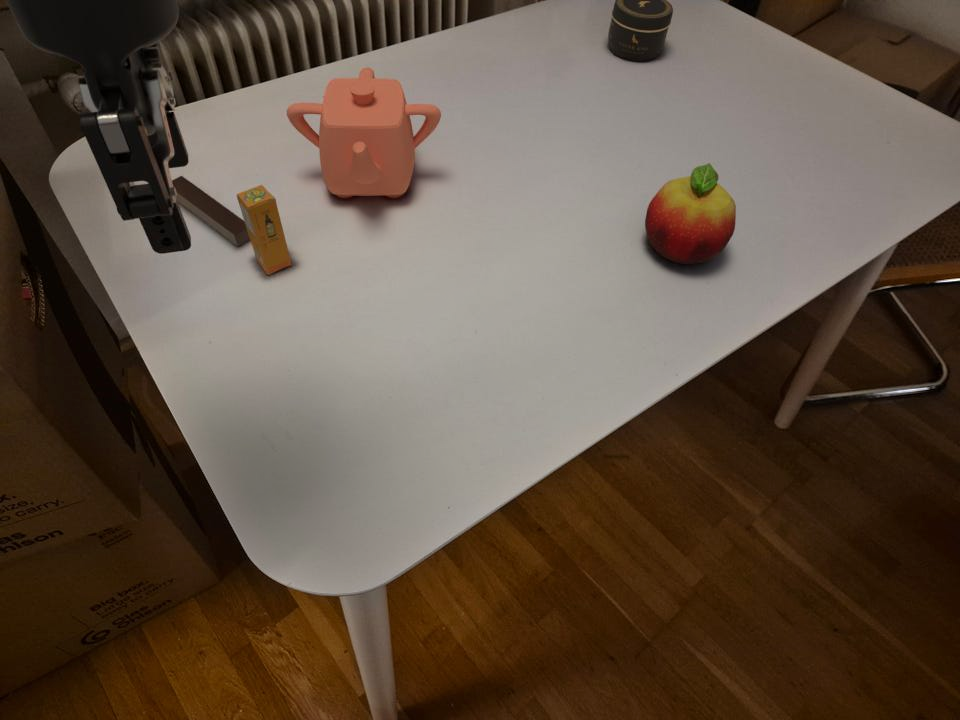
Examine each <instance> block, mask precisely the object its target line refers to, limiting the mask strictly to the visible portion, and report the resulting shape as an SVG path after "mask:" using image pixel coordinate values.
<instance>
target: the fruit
mask: <svg viewBox="0 0 960 720" xmlns="http://www.w3.org/2000/svg"><path fill="white" fill-rule="evenodd" d="M718 181H719V174H718V172H717V171H716V169H714V167H713V166H712V164H711V163H710V162H709V163H707V164H704V165H699V166H696V167H694V168H693V170H692V171H691V174H690V175H689V176H681V177H678V178H677V177H676V178H674V179H671V180H669V181H667V182H666V183H664V184H663V185H662V187H661V188H660V189H659V190H658V191H657V192H656V194H655V195H654V196H653V197H652V199H651V200H650V202H649V203H648V206H647V209H646V215H645V220H644V229H645V233H646V235H647V239H648V241H649V243H650V245H651V246H652V247H653V249H654V250H655V251H656V252H657V254H659V255H661V256H662V257H663V258H664V259H666V260H668V261H671V262H673V263H676V264H682V265H696V264H699V263H704V262H707V261H709V260H711V259H712V258H714V257H716V256H717V255H718V254H720V253H722V251H723V250H724V249H725V248H726V247H727V245H728V243H729V242H730V241H731V239H732V237H733V235H734V233H735V230H736V219H737V207H736V203H735V200H734V199H733V197H732V195H731V194H730V193H729V192H728V191H727V190H726V189H725V188H724V187H723V186H722V185H721V184H719V182H718Z"/></svg>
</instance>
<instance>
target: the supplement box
mask: <svg viewBox="0 0 960 720" xmlns="http://www.w3.org/2000/svg"><path fill="white" fill-rule="evenodd" d="M236 198H237V202H238V205H239V209H240V211H241V214H242V218H243V220H244V221H245V224H246V228H247V231H248V234H249V237H250V240H249V241H250V244H251V247H252V249H253V253H254V256H255V259H256V261H257V263H258V265H260V267H261V268H262V270H263V271H264V273H265V274H266V275H268V276H270V275H272V274H274V273H276V272H279V271H281V270H283V269H285V268H289V267H290V266H292V264H293V263H292V260H291V256H290V251H289V248H288V243H287V240H286V236H285V232H284V229H283V224H282V221H281V217H280V212H279V208H278V204H277V203H278V202H277V199H276V197H275V196H274V195H273V194H272V193H270V192H269V190H267V188H266V187H265V186H264V185H263V184H260V185H257V186H254V187H252V188H250V189H247V190H244V191H242V192H238V193H236Z"/></svg>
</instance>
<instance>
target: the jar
mask: <svg viewBox="0 0 960 720" xmlns="http://www.w3.org/2000/svg"><path fill="white" fill-rule="evenodd" d="M673 14H674V7H673V5H672V4H671V3H670V1H668V0H615V1H614V4H613V7H612V11H611V20H610V24H609V29H608V34H607V40H608V41H607V42H608V43H607V44H608V47H609V49H610V51H611V52H612V53H613V54H614V55H616V56H617V57H619V58H621V59H624V60H627V61H632V62H647V61H650V60H653V59H655V58H656V57H657V56H658V55H660V52H662V49H663V48H664V45H665V42H666V39H667V35H668V31H669V28H670V26H671V23H672V18H673Z"/></svg>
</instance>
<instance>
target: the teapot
mask: <svg viewBox="0 0 960 720" xmlns="http://www.w3.org/2000/svg"><path fill="white" fill-rule="evenodd" d="M402 86H403V85H402V84H401V81H399V80H398V79H397V78H396V79H394V78H378V77H377V78H376V77H375V73H374V70H373V69H372V68H370V67H362V68H361V70H360V71H359V75H358V77H338V78H337V77H336V78H332V79H330V81H329V82H328V83H327V85H326V88H325V90H324V94H323V99H322V103H318V102H296V103H292V104H290V105H289V106H288V107H287V109H286V117H287V119H288V120H289V122H290V124H291V125H292V126H293V128H294V129H295V130H296V131H297V132H298V133H300V135H302V136H303V137H304V138H305V139H306V140H308V141H309V142H310V143H312V144H313V145H314V146H316V148H318V150H319V152H318V153H319V163H320V169H321V174H322V175H321V176H322V179H323V181H324V184H325V185H326V188H327V190H328V191H329V192H330V193H331V194H333V195H336V196H337V197H338V198H341V199H349V198H352V197H353V196H366V197H367V196H369V197H370V196H371V197H372V196H386V197H387V198H392V199H397V198H400V197H402V196H403V195H404V194H405V193H406V192H407V191H408V188H409V186H410V183H411V181H412V176H413V172H414V167H415V161H416V149H417V147H419V146H420V145H421V144H422V143H423V142H424V141H425V140H426V139H427V138H428V137H429V136H430V135H431V134H432V133H433V132H434V131H435V130H436V128H437V127H438V125H439V123H440V121H441V118H442V111H441V110H440V108H439V107H438V106H436V105H435V104H429V103H407V100H406V99H407V98H406V96H405V93H404V89H403V87H402ZM304 115H318V116H319V115H320V119H319V131H318V133H317V132H316V131H315V130H314V129H313V128H312V126H311V125H310V124H309V123H308V121H307V120H306V119H305V117H304ZM411 116H424V117H425V118H424V121H423V123H422V125H421V126H420V128H419V130H418V131H417V132H416V133H415V135H414V130H413V125H412V120H411Z"/></svg>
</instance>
